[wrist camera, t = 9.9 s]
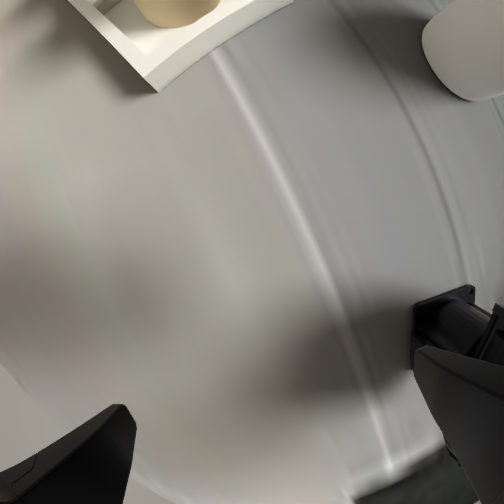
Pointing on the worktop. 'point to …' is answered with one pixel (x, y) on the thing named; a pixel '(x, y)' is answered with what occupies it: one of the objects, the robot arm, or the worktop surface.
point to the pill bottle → (468, 48)
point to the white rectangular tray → (170, 34)
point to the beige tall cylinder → (174, 11)
